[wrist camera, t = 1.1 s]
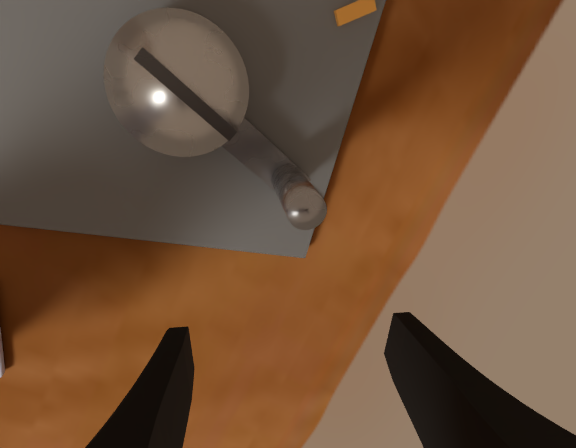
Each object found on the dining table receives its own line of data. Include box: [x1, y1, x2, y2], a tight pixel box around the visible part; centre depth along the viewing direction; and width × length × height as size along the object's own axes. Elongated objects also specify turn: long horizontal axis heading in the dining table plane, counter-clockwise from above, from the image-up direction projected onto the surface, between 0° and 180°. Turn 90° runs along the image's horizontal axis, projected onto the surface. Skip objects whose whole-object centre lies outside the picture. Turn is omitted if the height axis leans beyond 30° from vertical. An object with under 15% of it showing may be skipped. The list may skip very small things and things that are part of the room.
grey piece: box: [104, 8, 327, 230], centre depth 16 cm, size 11×6×5 cm, turn 45°
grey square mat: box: [0, 0, 386, 258], centre depth 17 cm, size 18×18×1 cm
